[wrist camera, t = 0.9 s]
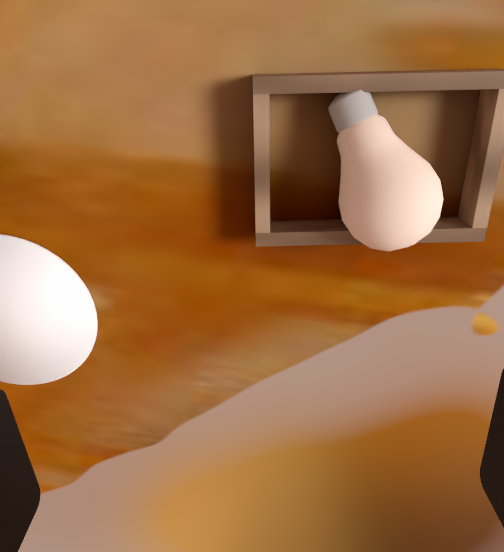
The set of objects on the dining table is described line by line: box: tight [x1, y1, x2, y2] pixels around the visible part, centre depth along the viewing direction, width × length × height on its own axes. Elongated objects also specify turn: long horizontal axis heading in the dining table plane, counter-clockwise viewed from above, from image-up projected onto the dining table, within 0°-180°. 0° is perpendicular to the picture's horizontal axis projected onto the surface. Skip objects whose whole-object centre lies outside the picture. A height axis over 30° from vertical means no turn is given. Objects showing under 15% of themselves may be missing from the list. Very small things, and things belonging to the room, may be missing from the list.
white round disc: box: [0, 234, 98, 385], centre depth 38 cm, size 14×14×1 cm
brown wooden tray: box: [252, 69, 504, 246], centre depth 32 cm, size 11×16×2 cm
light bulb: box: [328, 90, 444, 251], centre depth 31 cm, size 7×7×11 cm
